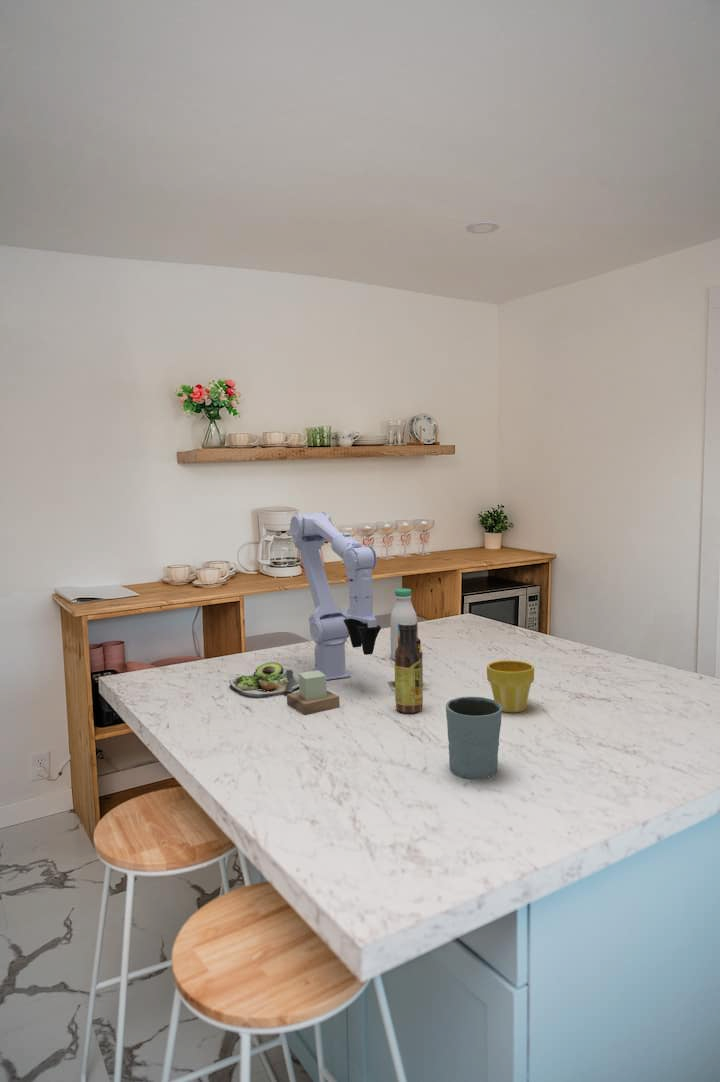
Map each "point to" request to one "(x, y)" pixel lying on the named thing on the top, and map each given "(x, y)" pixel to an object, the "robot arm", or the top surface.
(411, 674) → the sauce bottle
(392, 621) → the milk bottle
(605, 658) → the top surface
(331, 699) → the walnut block
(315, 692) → the sage cube
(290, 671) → the salad plate
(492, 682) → the plant pot
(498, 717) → the grey blue cup
